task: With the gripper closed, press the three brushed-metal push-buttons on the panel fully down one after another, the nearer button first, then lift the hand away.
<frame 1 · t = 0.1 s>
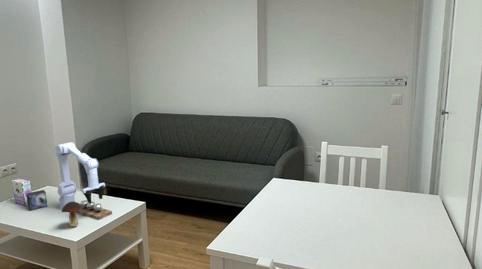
hand: (95, 200, 214), 10 cm above the table, tool pointing down, fingers open, 7 cm apart
candy box: (24, 203, 242), on the table
button 2: (97, 208, 217), point 5 cm above the table, slide at 0.0 cm
small box: (37, 208, 233), on the table
button 1: (84, 204, 223), point 5 cm above the table, slide at 0.0 cm
button middle: (91, 206, 220), point 4 cm above the table, slide at 0.0 cm
button panel: (91, 213, 221), on the table
decorative mushroom: (74, 226, 202), on the table
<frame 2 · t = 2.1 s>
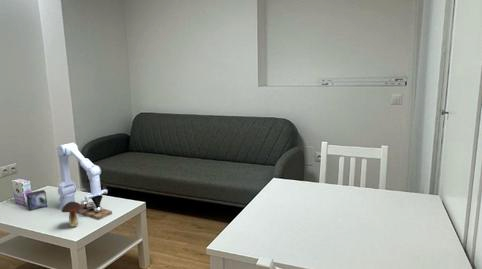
hand: (97, 207, 217), 5 cm above the table, tool pointing down, fingers closed, pressing on button 2
button 2: (98, 210, 217), point 3 cm above the table, slide at 1.6 cm, touching gripper
everything else where it was.
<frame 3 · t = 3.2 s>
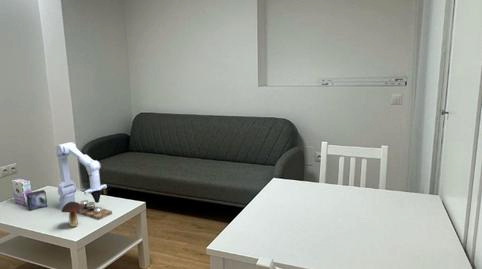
hand: (97, 202, 216), 8 cm above the table, tool pointing down, fingers closed
button 2: (98, 211, 217), point 2 cm above the table, slide at 2.4 cm, touching button panel
everything else where it was.
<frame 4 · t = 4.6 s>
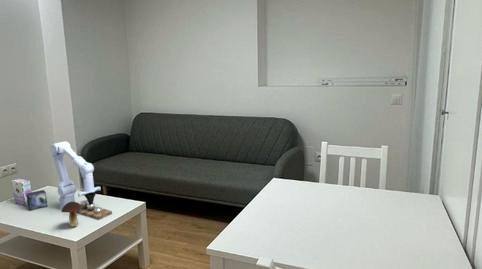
hand: (91, 204, 220), 6 cm above the table, tool pointing down, fingers closed, pressing on button middle
button middle: (91, 207, 220), point 4 cm above the table, slide at 0.7 cm, touching gripper
everything else where it was.
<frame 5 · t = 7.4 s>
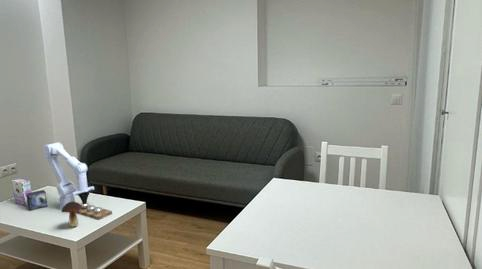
hand: (84, 203, 223), 5 cm above the table, tool pointing down, fingers closed, pressing on button 1
button 1: (85, 206, 224), point 3 cm above the table, slide at 1.5 cm, touching gripper
button middle: (91, 209, 221), point 2 cm above the table, slide at 2.4 cm, touching button panel
everything else where it was.
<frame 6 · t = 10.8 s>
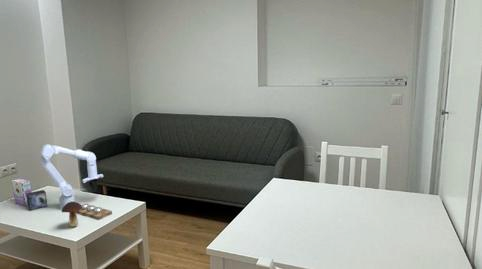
hand: (94, 190, 236), 9 cm above the table, tool pointing down, fingers closed
button 1: (85, 208, 224), point 2 cm above the table, slide at 2.4 cm, touching button panel
everything else where it was.
at the end: button 2 slide at 2.4 cm; button middle slide at 2.4 cm; button 1 slide at 2.4 cm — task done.
